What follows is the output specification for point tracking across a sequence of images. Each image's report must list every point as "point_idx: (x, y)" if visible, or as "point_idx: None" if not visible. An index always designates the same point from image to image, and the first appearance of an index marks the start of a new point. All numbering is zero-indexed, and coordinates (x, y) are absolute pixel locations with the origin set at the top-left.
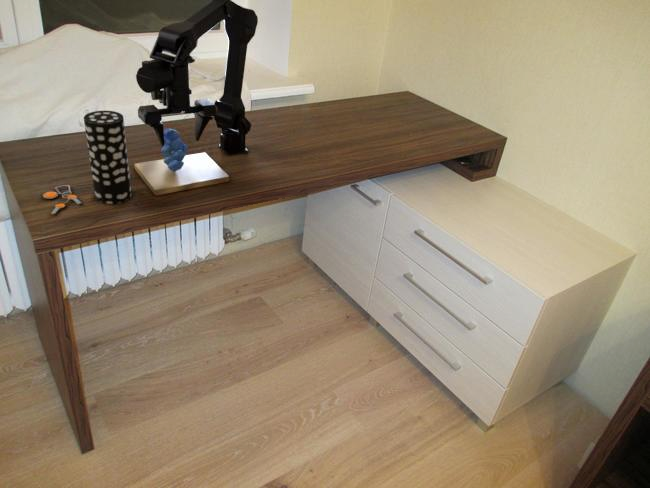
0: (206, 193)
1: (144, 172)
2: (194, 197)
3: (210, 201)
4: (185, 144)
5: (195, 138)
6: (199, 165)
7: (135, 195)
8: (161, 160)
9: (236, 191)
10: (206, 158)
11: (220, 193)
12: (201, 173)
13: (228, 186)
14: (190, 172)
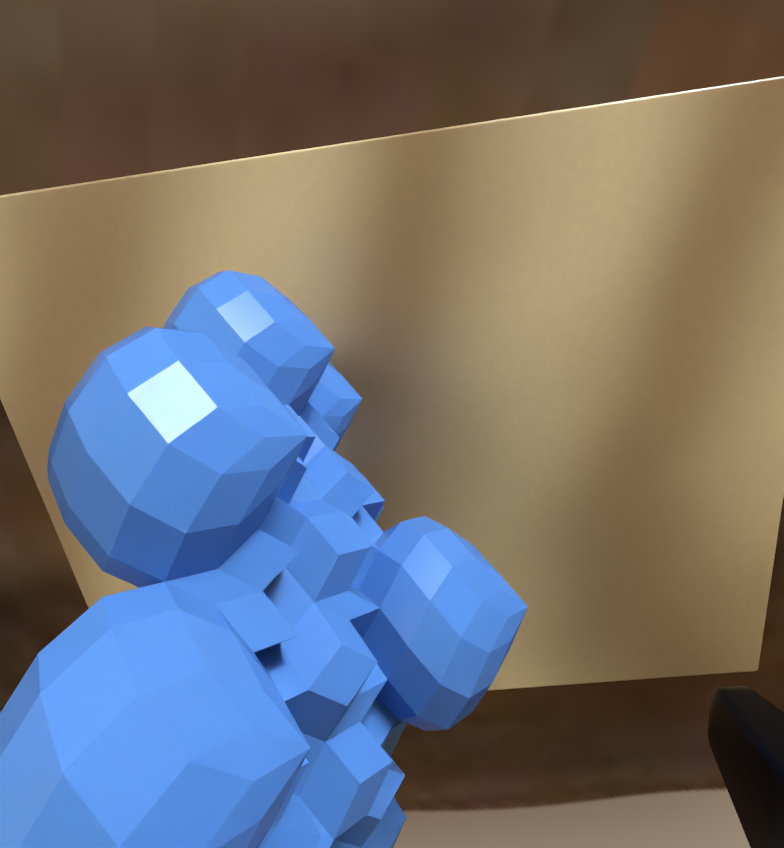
0: (491, 731)
1: (44, 438)
2: (398, 752)
3: (479, 807)
4: (487, 664)
5: (730, 712)
6: (606, 423)
7: (18, 645)
8: (231, 193)
9: (697, 757)
10: (764, 274)
11: (581, 752)
12: (554, 578)
13: (682, 693)
14: (465, 539)
